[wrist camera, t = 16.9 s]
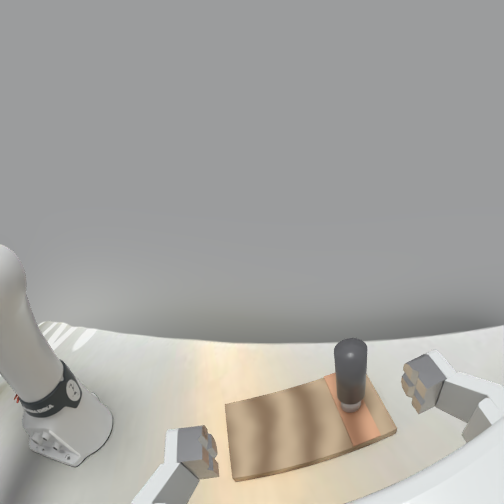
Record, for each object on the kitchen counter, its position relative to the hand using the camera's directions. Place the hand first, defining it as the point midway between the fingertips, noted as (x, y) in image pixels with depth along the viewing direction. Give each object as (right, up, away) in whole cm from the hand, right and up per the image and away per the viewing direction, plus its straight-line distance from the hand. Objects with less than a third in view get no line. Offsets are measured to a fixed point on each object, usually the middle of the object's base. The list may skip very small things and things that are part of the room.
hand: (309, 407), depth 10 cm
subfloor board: (+6, -20, +28) cm, 35 cm away
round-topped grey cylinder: (+12, -16, +27) cm, 34 cm away
